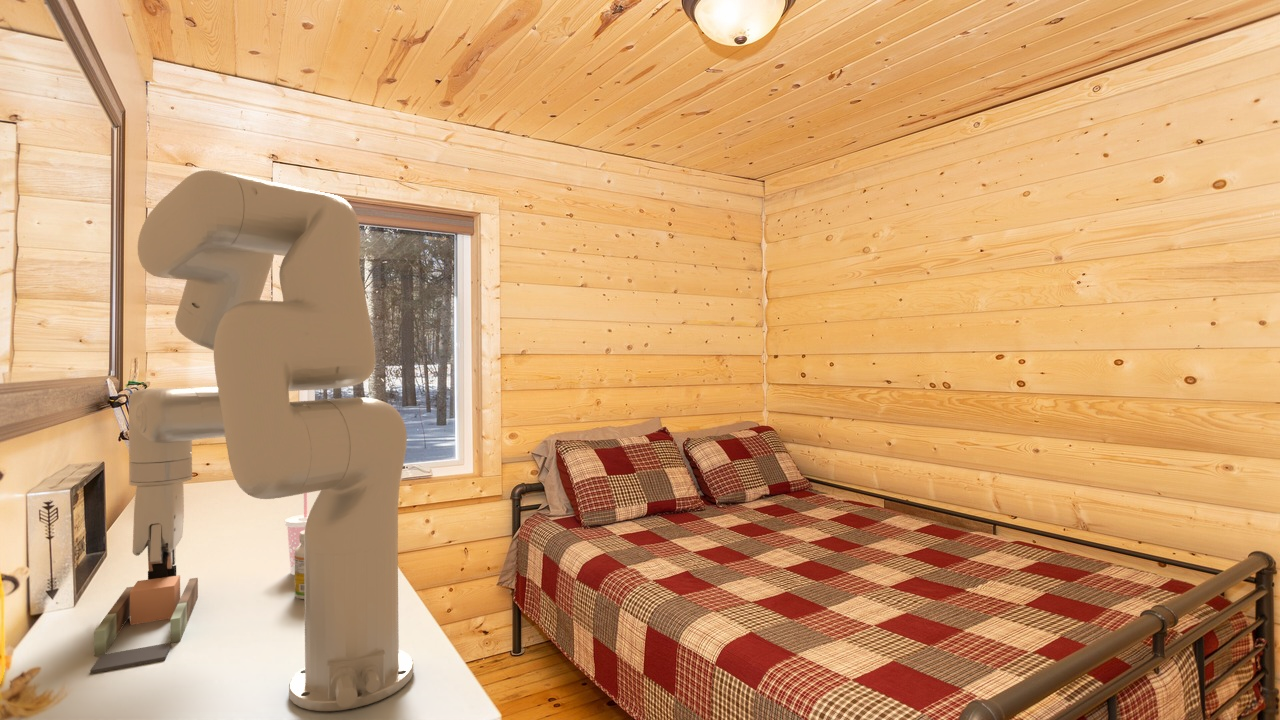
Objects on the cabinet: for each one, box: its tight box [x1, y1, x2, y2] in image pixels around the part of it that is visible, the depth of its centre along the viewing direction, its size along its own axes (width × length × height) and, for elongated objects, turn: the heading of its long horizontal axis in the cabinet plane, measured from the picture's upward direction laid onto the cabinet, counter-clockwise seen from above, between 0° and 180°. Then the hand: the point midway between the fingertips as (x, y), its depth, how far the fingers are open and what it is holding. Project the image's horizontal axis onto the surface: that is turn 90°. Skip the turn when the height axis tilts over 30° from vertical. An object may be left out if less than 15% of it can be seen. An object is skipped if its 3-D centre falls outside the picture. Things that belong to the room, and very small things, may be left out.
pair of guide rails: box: [93, 577, 199, 657], centre depth 89 cm, size 18×9×3 cm, turn 28°
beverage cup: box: [284, 493, 309, 576], centre depth 111 cm, size 6×6×14 cm
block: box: [129, 575, 181, 626], centre depth 92 cm, size 5×5×4 cm
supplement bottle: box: [294, 530, 305, 600], centre depth 100 cm, size 5×5×10 cm
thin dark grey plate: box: [89, 642, 172, 675], centre depth 78 cm, size 4×7×1 cm, turn 118°
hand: (162, 595), depth 96 cm, fingers closed
